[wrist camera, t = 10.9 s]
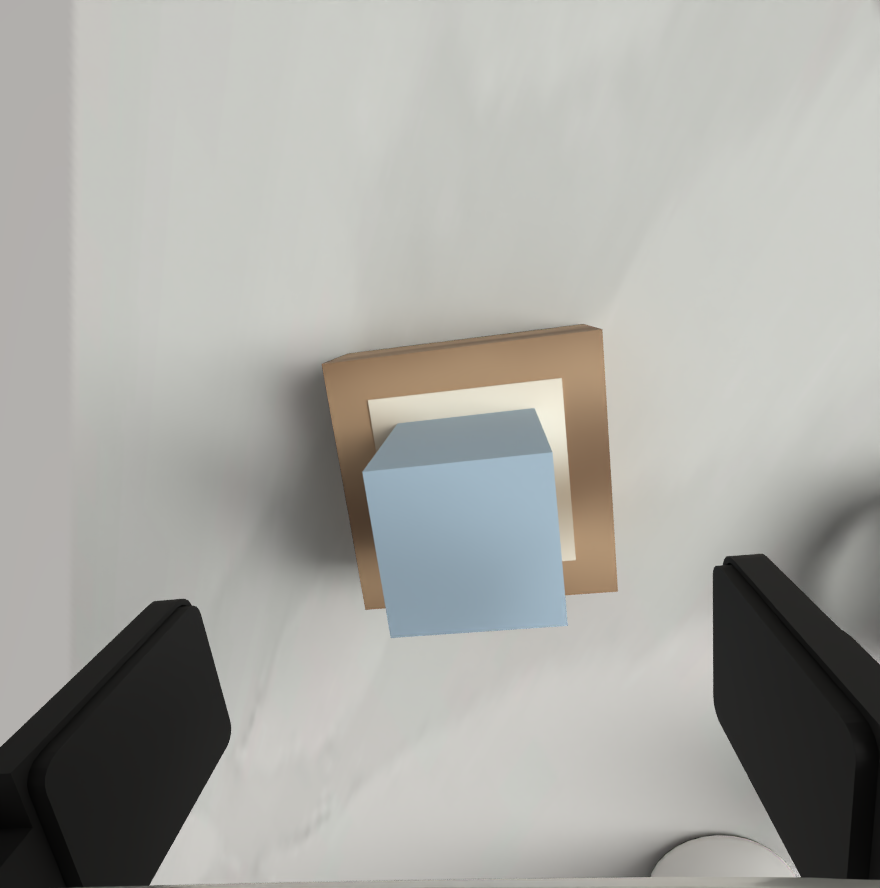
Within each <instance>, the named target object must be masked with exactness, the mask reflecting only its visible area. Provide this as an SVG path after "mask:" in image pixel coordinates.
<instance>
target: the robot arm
mask: <svg viewBox="0 0 880 888" xmlns="http://www.w3.org/2000/svg"><path fill="white" fill-rule="evenodd" d="M713 697H714V706H715V710H716V714H717V717H718V720H719V722H720V724H721V726H722V728H723V730H724V732H725V733H726V735H727V737H728V739H729V741H730V743H731V745H732V747H733V749H734V751H735V752H736V754H737V756H738V758H739V760H740V762H741V764H742V766H743V768H744V770H745V771H746V773H747V775H748V777H749V779H750V781H751V783H752V785H753V787H754V788H755V790H756V792H757V794H758V796H759V798H760V800H761V802H762V804H763V806H764V807H765V809H766V811H767V813H768V815H769V817H770V819H771V821H772V823H773V825H774V826H775V828H776V830H777V832H778V834H779V836H780V838H781V840H782V842H783V843H784V845H785V847H786V849H787V851H788V853H789V855H790V857H791V859H792V861H793V862H794V864H795V866H796V868H797V870H798V872H799V874H800V876H801V877H618V878H531V879H453V880H394V881H337V882H285V883H236V884H196V885H156V886H149V885H150V883H151V881H152V879H153V878H154V876H155V874H156V872H157V870H158V869H159V867H160V865H161V863H162V862H163V860H164V858H165V856H166V854H167V853H168V851H169V849H170V847H171V845H172V844H173V842H174V840H175V838H176V837H177V835H178V833H179V831H180V829H181V828H182V826H183V824H184V822H185V820H186V819H187V817H188V815H189V813H190V812H191V810H192V808H193V806H194V804H195V803H196V801H197V799H198V797H199V795H200V794H201V792H202V790H203V788H204V786H205V785H206V783H207V781H208V779H209V778H210V776H211V774H212V772H213V770H214V769H215V767H216V765H217V763H218V761H219V760H220V758H221V756H222V754H223V753H224V751H225V749H226V747H227V745H228V743H229V740H230V735H231V723H230V719H229V715H228V711H227V708H226V704H225V700H224V697H223V693H222V689H221V686H220V682H219V679H218V675H217V671H216V668H215V664H214V660H213V657H212V653H211V649H210V646H209V642H208V639H207V635H206V631H205V628H204V624H203V620H202V617H201V613H200V611H199V609H198V608H197V607H196V606H192V605H191V603H190V602H189V601H188V600H186V599H176V600H163V601H154V602H152V603H151V604H150V605H148V606H147V607H146V608H145V609H144V610H143V611H142V612H141V613H140V614H139V615H138V616H137V617H136V618H135V619H134V620H133V621H132V622H131V623H130V624H129V625H128V626H127V627H125V628H124V629H123V630H122V631H121V632H120V633H119V634H118V635H117V636H116V637H115V638H114V639H113V640H112V641H111V642H110V643H109V644H108V645H107V646H106V647H105V648H104V649H103V650H101V651H100V652H99V653H98V654H97V655H96V656H95V657H94V658H93V659H92V660H91V661H90V662H89V663H88V664H87V665H86V666H85V667H84V668H83V669H82V670H81V671H80V672H78V673H77V674H76V675H75V676H74V677H73V678H72V679H71V680H70V681H69V682H68V683H67V684H66V685H65V686H64V687H63V688H62V689H61V690H60V691H59V692H58V693H57V694H56V695H54V696H53V697H52V698H51V699H50V700H49V701H48V702H47V703H46V704H45V705H44V706H43V707H42V708H41V709H40V710H39V711H38V712H37V713H36V714H35V715H34V716H32V717H31V718H30V719H29V720H28V721H27V722H26V723H25V724H24V725H23V726H22V727H21V728H20V729H19V730H18V731H17V732H16V733H15V734H14V735H13V736H12V737H11V738H9V739H8V740H7V741H6V742H5V743H4V744H3V745H2V746H1V747H0V888H880V664H879V663H878V662H877V661H875V660H874V659H873V658H872V657H871V656H870V655H869V654H868V653H867V652H866V651H865V650H864V649H863V648H862V647H861V646H860V645H859V644H858V643H857V642H856V641H855V640H854V639H853V638H852V637H851V636H849V635H848V634H847V633H845V632H844V631H842V630H841V629H840V628H839V627H838V626H837V625H836V624H835V623H834V622H833V621H832V620H831V619H830V618H829V617H828V616H826V615H825V614H824V613H823V612H822V611H821V610H820V609H819V608H818V607H817V606H816V605H815V604H814V603H813V602H812V601H811V600H810V599H809V598H808V597H807V596H806V595H805V594H804V593H803V592H802V591H801V590H800V589H799V588H798V587H797V586H796V585H795V584H794V583H793V582H792V581H791V580H790V579H789V578H788V577H787V576H786V575H785V574H784V573H783V572H782V571H781V570H780V569H779V568H778V567H777V566H776V565H775V564H774V563H773V562H772V561H771V560H770V559H769V558H768V557H767V556H765V555H764V554H753V555H740V556H727V557H726V558H725V559H724V562H723V565H722V566H715V567H714V570H713Z"/></svg>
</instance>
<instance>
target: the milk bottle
mask: <svg viewBox="0 0 880 888" xmlns="http://www.w3.org/2000/svg"><path fill="white" fill-rule="evenodd" d="M651 877H796V876H795V874H794V873H793V871H792V869H791V868H790V867H789V866H788V865H787V864H786V863H785V862H784V861H783V860H782V859H781V858H780V857H779V856H777V855H776V854H775V853H774V852H773V851H772V850H770V849H768V848H766V847H765V846H763V845H761V844H760V843H757V842H754V841H751V840H749V839H746V838H740V837H735V836H722V835H716V836H707V837H701V838H698V839H694V840H690V841H687V842H685V843H683V844H681V845H679V846H677V847H675V848H674V849H672V850H671V851H670V852H668V853H666V854H665V856H664V857H663V858H662V859H661V860H660V861H659V862H658V863H657V865H656V866H655V868H654V870H653V871H652V873H651Z"/></svg>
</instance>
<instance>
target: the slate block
mask: <svg viewBox="0 0 880 888" xmlns="http://www.w3.org/2000/svg"><path fill="white" fill-rule="evenodd" d="M362 473H363V479H364V485H365V490H366V496H367V502H368V508H369V514H370V520H371V525H372V531H373V537H374V543H375V549H376V554H377V560H378V566H379V572H380V578H381V583H382V589H383V595H384V601H385V607H386V612H387V618H388V624H389V630H390V636H391V638H396V637H411V636H425V635H440V634H454V633H469V632H483V631H498V630H512V629H527V628H541V627H556V626H568V623H567V612H566V600H565V589H564V578H563V566H562V555H561V543H560V532H559V520H558V509H557V498H556V486H555V475H554V463H553V452H552V450H551V447H550V445H549V442H548V440H547V437H546V435H545V432H544V430H543V428H542V425H541V423H540V420H539V418H538V415H537V413H536V410H535V408H530V409H521V410H512V411H503V412H495V413H486V414H477V415H468V416H459V417H450V418H441V419H433V420H424V421H415V422H406V423H398V424H397V425H396V426H395V428H394V429H393V430H392V432H391V433H390V435H389V436H388V437H387V439H386V440H385V441H384V443H383V444H382V446H381V447H380V448H379V450H378V451H377V452H376V454H375V455H374V457H373V458H372V459H371V461H370V462H369V463H368V465H367V466H366V468H365V469H364V470H363V472H362Z"/></svg>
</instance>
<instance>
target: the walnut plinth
mask: <svg viewBox="0 0 880 888" xmlns="http://www.w3.org/2000/svg"><path fill="white" fill-rule="evenodd" d="M322 369H323V374H324V380H325V385H326V391H327V397H328V402H329V408H330V413H331V419H332V425H333V430H334V436H335V441H336V447H337V453H338V458H339V464H340V469H341V475H342V481H343V486H344V492H345V498H346V503H347V509H348V514H349V520H350V526H351V531H352V537H353V542H354V548H355V554H356V559H357V565H358V570H359V576H360V582H361V587H362V593H363V599H364V604H365V610H368V609H382V608H386V607H385V601H384V595H383V589H382V583H381V578H380V572H379V566H378V560H377V554H376V549H375V543H374V537H373V531H372V525H371V520H370V514H369V508H368V502H367V496H366V490H365V485H364V479H363V473H362V472H363V470H364V469H365V468H366V466H367V465H368V463H369V462H370V461H371V459H372V458H373V457H374V455H375V454H376V452H377V451H378V450H379V448H380V447H381V446H382V444H383V443H384V441H385V440H386V439H387V437H388V436H389V435H390V433H391V432H392V430H393V429H394V428H395V426H396V425H397V424H398V423H406V422H415V421H424V420H433V419H441V418H450V417H459V416H468V415H477V414H486V413H495V412H503V411H512V410H521V409H530V408H535V410H536V413H537V415H538V418H539V420H540V423H541V425H542V428H543V430H544V432H545V435H546V437H547V440H548V442H549V445H550V447H551V450H552V452H553V463H554V475H555V486H556V498H557V509H558V520H559V532H560V543H561V555H562V566H563V578H564V589H565V595H575V594H589V593H603V592H617V591H618V587H617V570H616V554H615V537H614V520H613V503H612V486H611V469H610V452H609V435H608V419H607V402H606V385H605V368H604V351H603V334H602V329H599V328H595V327H592V326H588V325H585V324H580V325H572V326H564V327H556V328H548V329H540V330H533V331H525V332H517V333H509V334H501V335H493V336H485V337H477V338H469V339H461V340H453V341H445V342H437V343H429V344H421V345H413V346H405V347H397V348H389V349H381V350H373V351H365V352H357V353H349V354H346V355H343V356H341V357H338V358H336V359H333V360H331V361H328V362H326V363H323V364H322Z"/></svg>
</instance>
